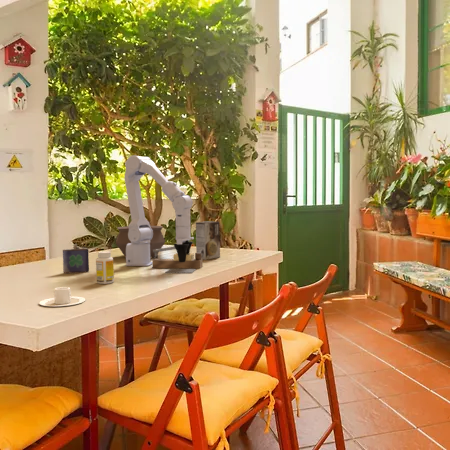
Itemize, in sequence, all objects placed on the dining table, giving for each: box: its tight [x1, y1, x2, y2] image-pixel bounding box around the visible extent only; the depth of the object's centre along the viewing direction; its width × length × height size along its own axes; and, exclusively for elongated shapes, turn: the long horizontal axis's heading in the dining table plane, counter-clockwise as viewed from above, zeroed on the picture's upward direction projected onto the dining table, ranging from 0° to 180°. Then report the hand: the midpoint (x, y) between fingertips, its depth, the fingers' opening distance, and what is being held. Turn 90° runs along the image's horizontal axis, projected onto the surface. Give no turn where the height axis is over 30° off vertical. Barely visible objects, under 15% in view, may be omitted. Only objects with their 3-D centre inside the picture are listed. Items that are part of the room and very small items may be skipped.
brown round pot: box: [115, 219, 166, 259], centre depth 228 cm, size 24×24×16 cm
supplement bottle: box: [95, 250, 115, 285], centre depth 163 cm, size 6×6×10 cm
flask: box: [62, 243, 90, 275], centre depth 186 cm, size 9×3×11 cm, turn 109°
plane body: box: [151, 252, 204, 269], centre depth 195 cm, size 19×4×6 cm, turn 82°
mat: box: [164, 268, 197, 274], centre depth 185 cm, size 10×8×1 cm
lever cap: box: [172, 252, 195, 261], centre depth 194 cm, size 7×5×2 cm
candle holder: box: [38, 286, 86, 308], centre depth 135 cm, size 12×12×4 cm
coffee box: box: [195, 220, 221, 260], centre depth 221 cm, size 9×6×16 cm
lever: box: [153, 245, 176, 259], centre depth 201 cm, size 15×2×4 cm, turn 147°
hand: (183, 260), depth 195 cm, fingers closed on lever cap, 5 cm apart
